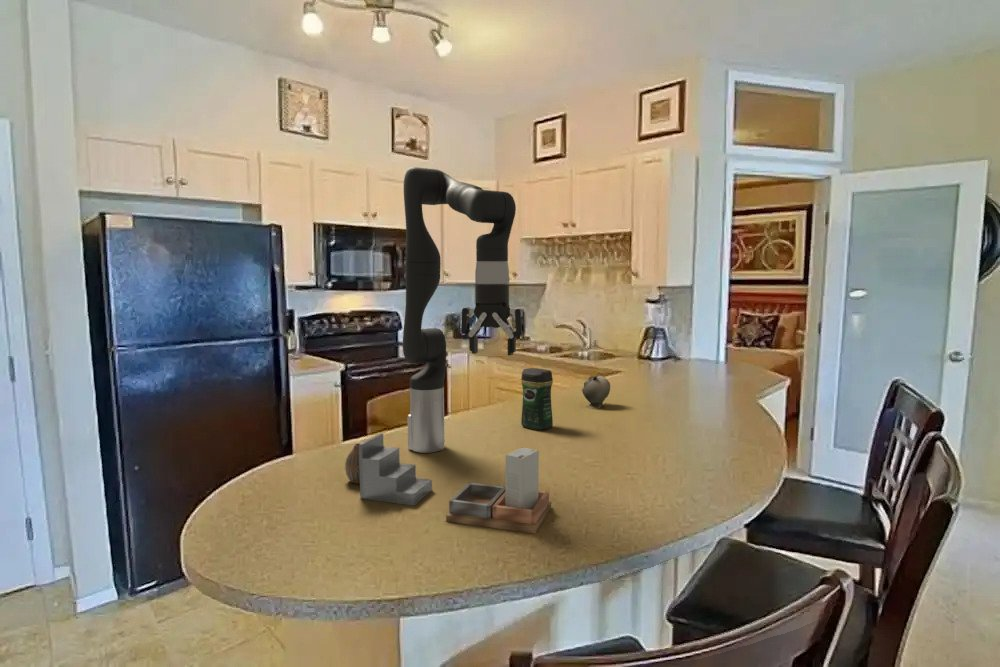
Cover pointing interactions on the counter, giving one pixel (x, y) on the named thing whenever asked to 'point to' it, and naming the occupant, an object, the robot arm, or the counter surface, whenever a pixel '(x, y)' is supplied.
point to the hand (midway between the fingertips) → (492, 354)
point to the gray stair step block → (388, 475)
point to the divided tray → (495, 509)
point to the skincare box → (522, 478)
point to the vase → (353, 465)
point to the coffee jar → (536, 399)
